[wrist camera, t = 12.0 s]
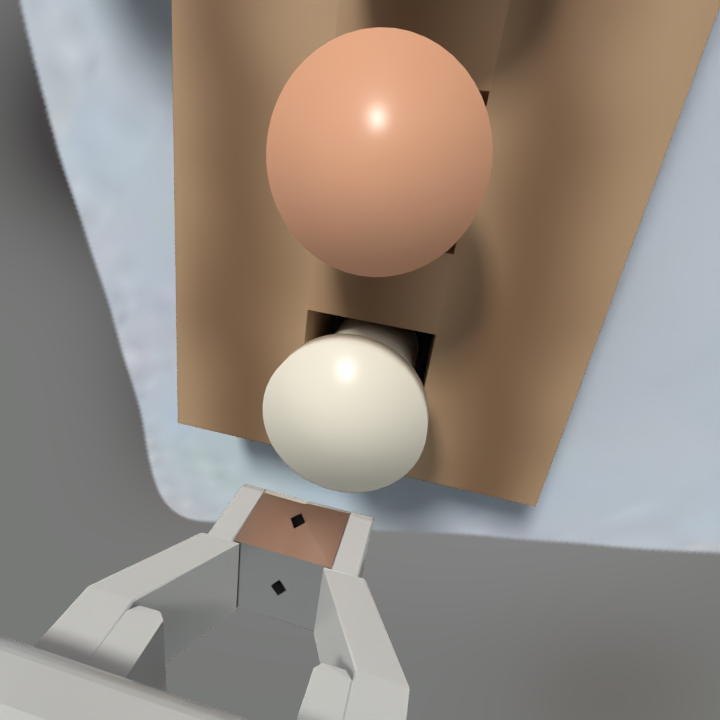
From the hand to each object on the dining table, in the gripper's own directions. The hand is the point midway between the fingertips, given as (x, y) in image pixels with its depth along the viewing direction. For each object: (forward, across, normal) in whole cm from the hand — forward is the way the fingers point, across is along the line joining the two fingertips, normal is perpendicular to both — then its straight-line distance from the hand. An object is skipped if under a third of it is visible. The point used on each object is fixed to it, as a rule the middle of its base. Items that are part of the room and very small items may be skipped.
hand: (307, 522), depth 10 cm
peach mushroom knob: (+12, +1, -7) cm, 14 cm away
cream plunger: (+13, +1, +1) cm, 13 cm away
